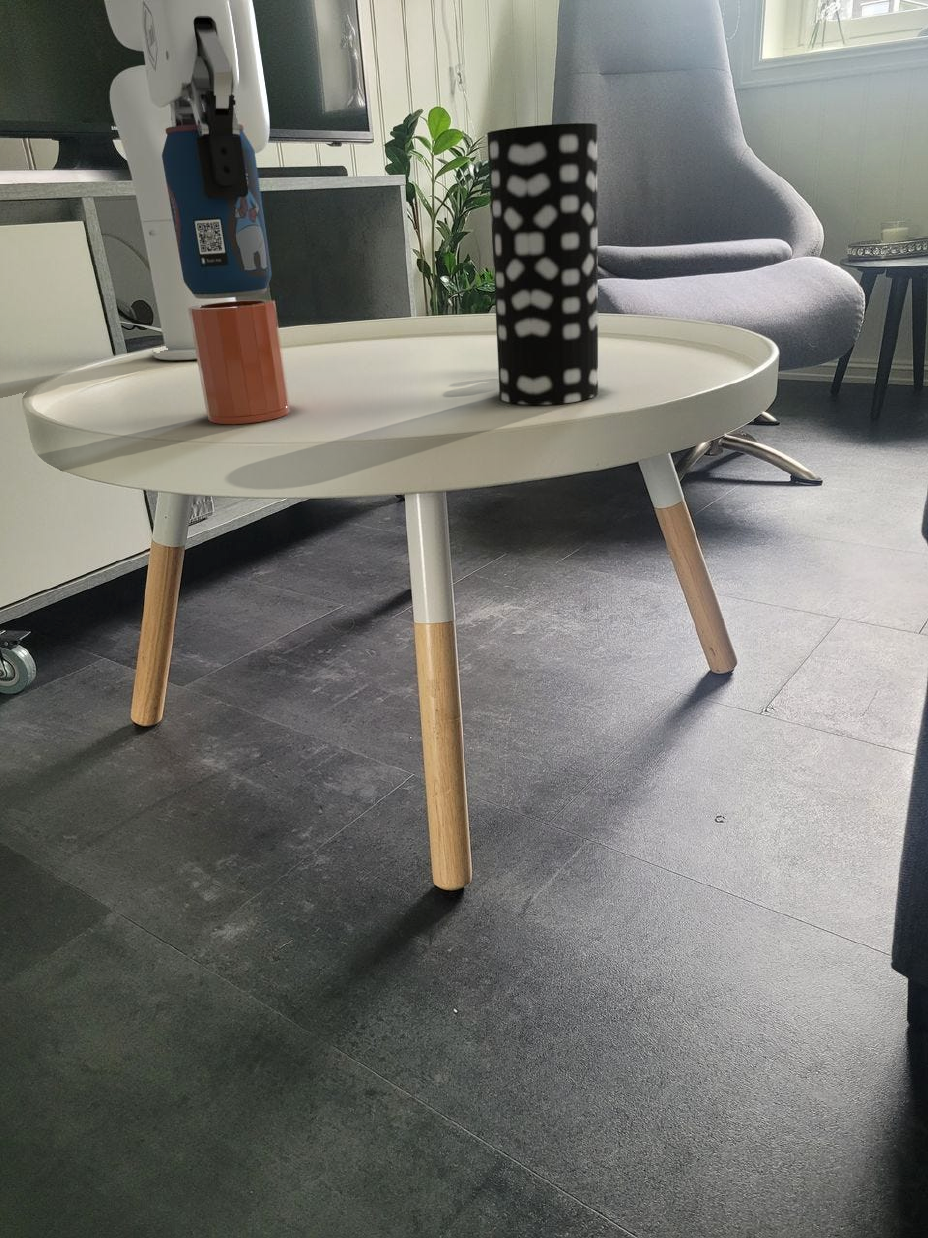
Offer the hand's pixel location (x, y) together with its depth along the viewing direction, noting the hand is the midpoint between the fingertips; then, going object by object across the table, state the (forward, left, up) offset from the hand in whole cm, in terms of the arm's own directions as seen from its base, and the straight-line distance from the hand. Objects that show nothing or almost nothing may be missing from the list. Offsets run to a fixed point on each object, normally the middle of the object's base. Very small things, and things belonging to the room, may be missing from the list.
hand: (214, 197), depth 71 cm
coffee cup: (0, 0, -17) cm, 17 cm away
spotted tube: (+11, +23, -17) cm, 31 cm away
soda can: (0, 0, -7) cm, 7 cm away
